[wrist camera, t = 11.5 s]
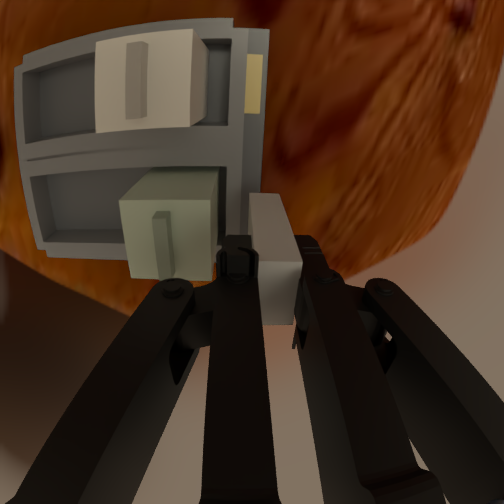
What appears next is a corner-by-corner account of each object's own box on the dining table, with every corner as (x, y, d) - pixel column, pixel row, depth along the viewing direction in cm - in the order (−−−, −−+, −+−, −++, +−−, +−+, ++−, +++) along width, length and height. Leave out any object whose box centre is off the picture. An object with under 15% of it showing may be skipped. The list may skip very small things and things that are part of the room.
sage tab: (154, 166, 17) (111, 207, 11) (219, 165, 17) (208, 207, 11) (158, 225, 19) (126, 287, 13) (218, 226, 19) (210, 291, 13)
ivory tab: (140, 55, 14) (87, 39, 8) (209, 50, 14) (189, 24, 8) (140, 118, 16) (87, 136, 10) (206, 116, 16) (186, 129, 10)
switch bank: (28, 63, 13) (2, 64, 11) (268, 31, 14) (273, 19, 12) (47, 237, 20) (28, 256, 18) (255, 240, 21) (258, 263, 19)
